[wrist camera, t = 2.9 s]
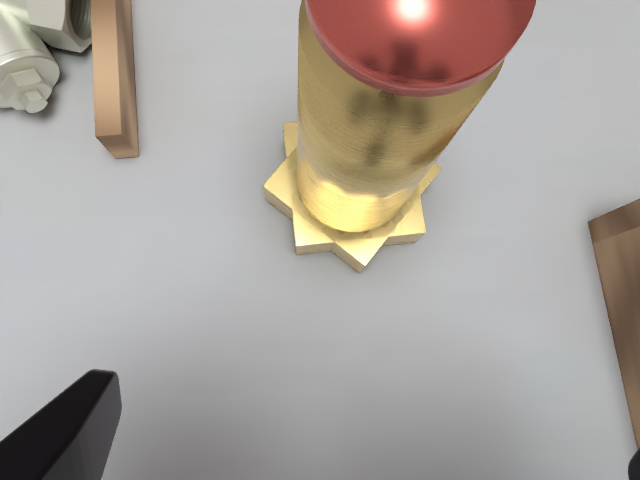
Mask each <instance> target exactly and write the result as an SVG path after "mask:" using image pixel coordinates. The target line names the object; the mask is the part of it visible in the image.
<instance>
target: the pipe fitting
mask: <svg viewBox="0 0 640 480" xmlns="http://www.w3.org/2000/svg"><path fill="white" fill-rule="evenodd" d="M41 39H43V40H44V41H45V42H46V43H47V44H49V45H50V46H51V47H55V48H60V49H65V50H70V51H75V52H80V53H81V52H82V51H84V50H85V49H86V48H87V47H88V46H89V45H90V44H91V43H92V29H91V1H90V0H0V107H3V108H8V107H13V108H14V109H16V110H26V111H27V112H29V113H36V112H39V111H41V110H43V109H44V108H45V107H46V105H47V103H48V102H47V101H46V100H47V99H48V97H49V96H50V94H51V92H52V90H53V89H52V88H53V87H54V85H55V84H56V82H57V80H58V78H59V73H60V71H59V67H58V65H57V63H56V61H55V60H54V58H53V57H52V55H51V54H50V52H49V51H48V49H47V47H46V46H45V44H44V43H43V41H42V40H41Z"/></svg>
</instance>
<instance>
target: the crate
mask: <svg viewBox="0 0 640 480" xmlns="http://www.w3.org/2000/svg"><path fill="white" fill-rule="evenodd" d="M588 225H589V230H590V234H591V239H592V244H593V248H594V253H595V257H596V262H597V266H598V271H599V276H600V280H601V285H602V289H603V294H604V298H605V303H606V308H607V312H608V317H609V321H610V326H611V330H612V335H613V340H614V344H615V349H616V353H617V358H618V362H619V367H620V372H621V376H622V381H623V385H624V390H625V395H626V399H627V404H628V408H629V413H630V417H631V422H632V427H633V431H634V436H635V440H636V445H637V449H639V447H640V199H638V200H636V201H634V202H631V203H629V204H627V205H625V206H622V207H620V208H618V209H616V210H613V211H611V212H609V213H607V214H604V215H602V216H600V217H598V218H595V219H593V220H591V221H589V222H588Z"/></svg>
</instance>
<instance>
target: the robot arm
mask: <svg viewBox="0 0 640 480" xmlns="http://www.w3.org/2000/svg"><path fill="white" fill-rule="evenodd" d="M121 409H122V403H121V395H120V386H119V378H118V375H117V373H116V372H113V371H107V370H99V369H93V370H90V371H88V372H87V373H86V374H84V375H83V376H82V377H80V378H79V379H78V380H77V381H75V382H74V383H73V384H72V385H70V386H69V387H68V388H67V389H65V390H64V391H63V392H62V393H60V394H59V395H58V396H57V397H55V398H54V399H53V400H52V401H50V402H49V403H48V404H47V405H45V406H44V407H43V408H42V409H40V410H39V411H38V412H37V413H35V414H34V415H33V416H32V417H30V418H29V419H28V420H27V421H25V422H24V423H23V424H22V425H20V426H19V427H18V428H17V429H15V430H14V431H13V432H12V433H10V434H9V435H8V436H7V437H5V438H4V439H3V440H2V441H0V480H101V478H102V474H103V471H104V468H105V465H106V461H107V458H108V455H109V452H110V449H111V445H112V442H113V439H114V436H115V432H116V429H117V426H118V423H119V419H120V415H121ZM628 476H629V480H640V447H639V449H638V450H637V451H636V453H635V454H634V456H633V457H632V459H631V460H630V462H629V466H628Z"/></svg>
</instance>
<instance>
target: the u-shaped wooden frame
mask: <svg viewBox="0 0 640 480" xmlns="http://www.w3.org/2000/svg"><path fill="white" fill-rule="evenodd" d="M90 1H91V29H92V56H93V83H94V110H95V137H96V138H97V139H98V140H99V141H100V142H101V143H102V144H103V145H104V146H105V147H106V149H107V150H108V151H109V152H110V153H111V154H112V155H113V156H114V157H115V158H116V159H118V158H129V157H139V147H138V129H137V110H136V91H135V72H134V53H133V34H132V15H131V0H90Z"/></svg>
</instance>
